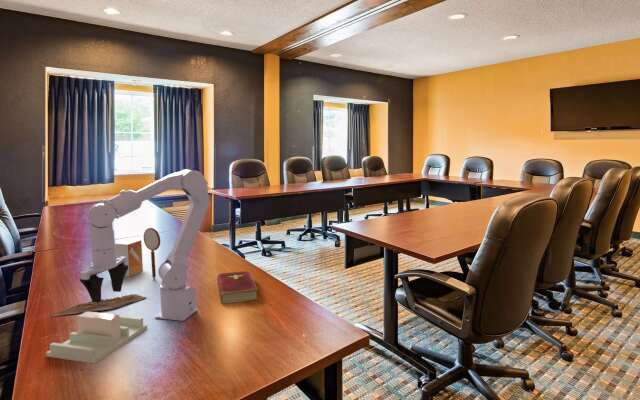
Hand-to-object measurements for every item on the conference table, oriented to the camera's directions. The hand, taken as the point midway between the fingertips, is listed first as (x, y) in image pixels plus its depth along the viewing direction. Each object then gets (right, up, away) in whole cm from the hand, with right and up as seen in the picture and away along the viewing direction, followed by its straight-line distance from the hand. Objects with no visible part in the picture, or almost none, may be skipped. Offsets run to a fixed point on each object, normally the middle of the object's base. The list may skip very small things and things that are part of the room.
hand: (107, 296), depth 106 cm
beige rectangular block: (+1, -9, -6) cm, 11 cm away
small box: (-18, -3, +48) cm, 52 cm away
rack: (+1, -10, -6) cm, 12 cm away
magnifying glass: (-5, -4, +41) cm, 42 cm away
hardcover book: (+29, -6, +30) cm, 42 cm away
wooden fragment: (-11, -8, +16) cm, 21 cm away
